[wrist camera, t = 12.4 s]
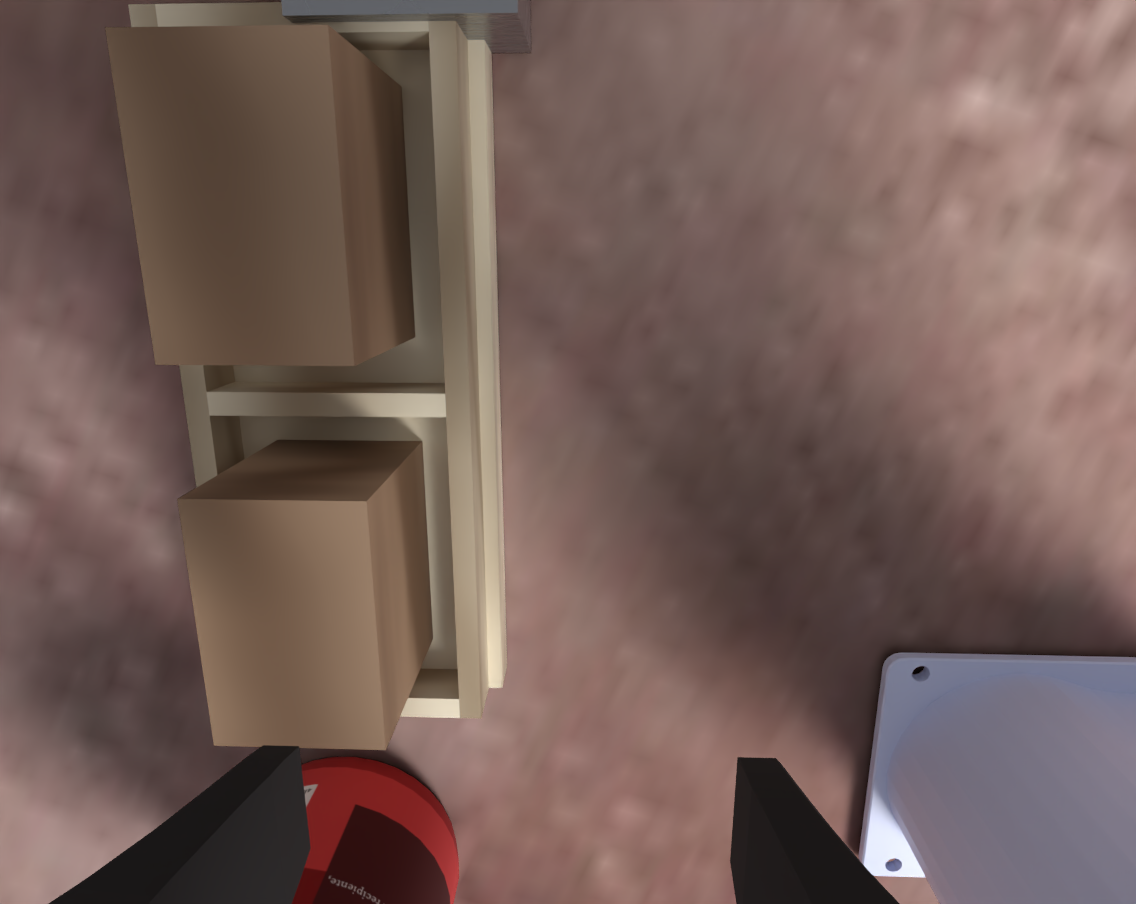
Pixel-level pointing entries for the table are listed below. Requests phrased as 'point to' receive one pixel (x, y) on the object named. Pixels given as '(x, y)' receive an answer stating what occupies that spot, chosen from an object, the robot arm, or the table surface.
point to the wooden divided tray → (404, 348)
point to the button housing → (429, 17)
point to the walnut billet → (265, 194)
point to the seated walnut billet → (311, 591)
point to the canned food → (374, 837)
